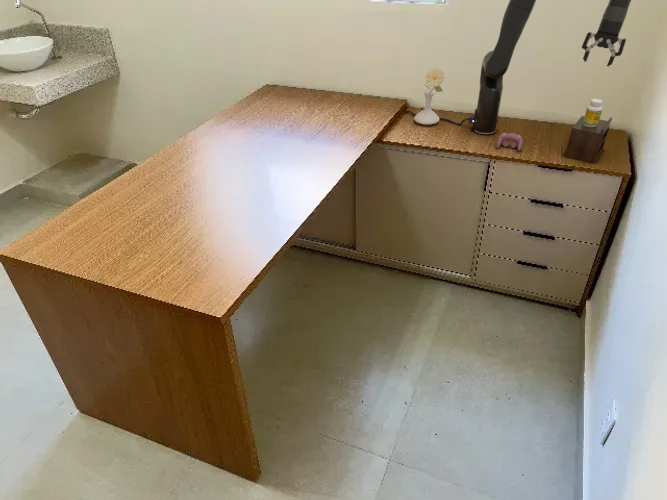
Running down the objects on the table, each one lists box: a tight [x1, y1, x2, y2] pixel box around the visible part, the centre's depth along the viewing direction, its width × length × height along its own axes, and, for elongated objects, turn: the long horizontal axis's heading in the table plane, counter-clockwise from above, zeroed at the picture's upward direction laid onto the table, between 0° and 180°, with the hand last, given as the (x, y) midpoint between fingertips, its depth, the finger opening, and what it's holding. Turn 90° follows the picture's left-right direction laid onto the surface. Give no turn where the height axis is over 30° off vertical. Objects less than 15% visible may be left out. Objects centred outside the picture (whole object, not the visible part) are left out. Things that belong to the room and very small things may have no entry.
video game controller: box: [496, 132, 524, 153], centre depth 206 cm, size 10×5×7 cm, turn 65°
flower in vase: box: [413, 67, 446, 126], centre depth 223 cm, size 13×11×25 cm
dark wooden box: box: [564, 115, 613, 164], centre depth 198 cm, size 11×14×14 cm
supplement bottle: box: [583, 98, 604, 127], centre depth 192 cm, size 5×5×10 cm
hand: (596, 63), depth 197 cm, fingers open, 8 cm apart
